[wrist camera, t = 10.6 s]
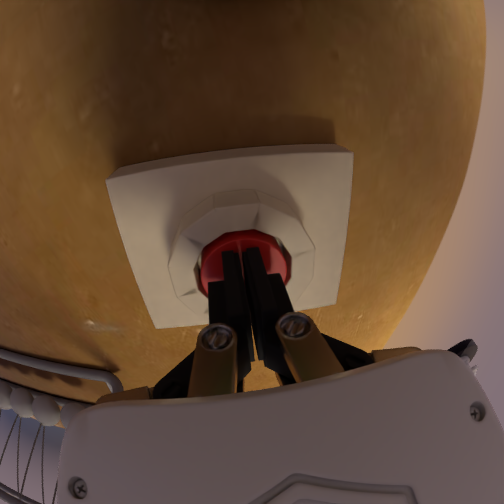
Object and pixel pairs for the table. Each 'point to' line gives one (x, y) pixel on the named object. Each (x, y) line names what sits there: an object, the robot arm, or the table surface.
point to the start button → (240, 254)
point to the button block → (233, 220)
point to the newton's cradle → (43, 407)
